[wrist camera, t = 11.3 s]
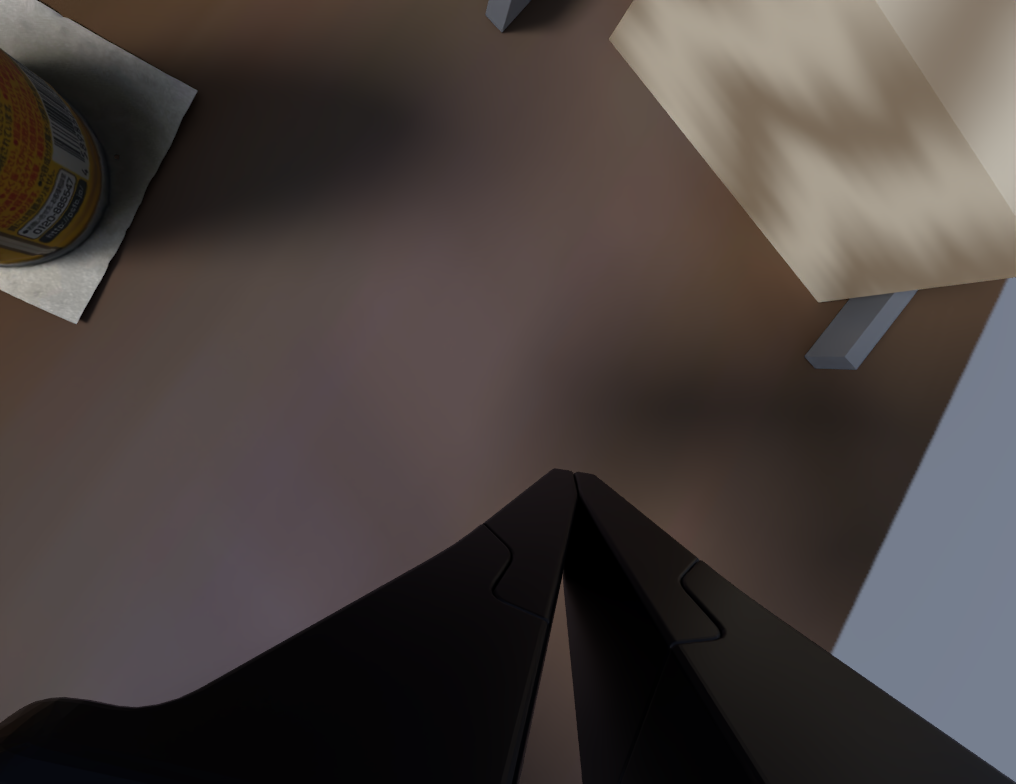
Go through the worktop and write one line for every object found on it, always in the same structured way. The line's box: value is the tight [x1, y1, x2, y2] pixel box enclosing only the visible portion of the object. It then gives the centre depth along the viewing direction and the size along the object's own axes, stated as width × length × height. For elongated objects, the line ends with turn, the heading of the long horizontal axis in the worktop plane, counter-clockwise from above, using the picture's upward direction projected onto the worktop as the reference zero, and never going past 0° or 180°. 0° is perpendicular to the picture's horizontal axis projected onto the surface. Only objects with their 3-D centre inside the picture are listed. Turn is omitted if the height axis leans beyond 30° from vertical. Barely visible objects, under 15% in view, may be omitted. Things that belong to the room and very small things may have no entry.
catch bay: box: [486, 0, 918, 370], centre depth 17 cm, size 11×20×6 cm, turn 49°
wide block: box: [609, 0, 1016, 302], centre depth 16 cm, size 14×7×8 cm, turn 46°
